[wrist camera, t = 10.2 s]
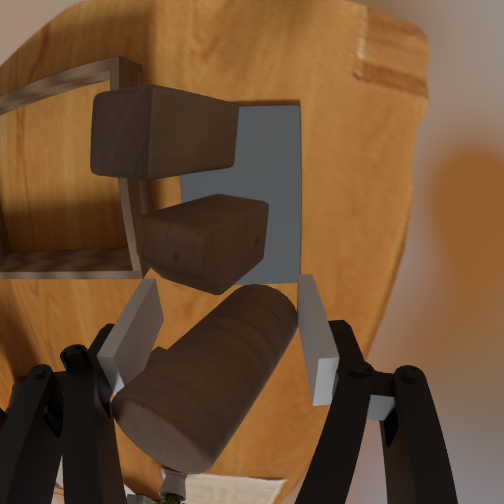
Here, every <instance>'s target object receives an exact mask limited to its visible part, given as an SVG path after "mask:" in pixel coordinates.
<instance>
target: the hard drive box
mask: <svg viewBox="0 0 504 504" xmlns="http://www.w3.org/2000/svg"><path fill="white" fill-rule="evenodd" d="M126 499H127V504H150V503H149V502H151V503H156V502H155V501H152V500H151V499H150V498H148V497H146V496H145V495H132V494H128V495H127V498H126Z"/></svg>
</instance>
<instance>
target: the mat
mask: <svg viewBox="0 0 504 504" xmlns="http://www.w3.org/2000/svg"><path fill="white" fill-rule="evenodd" d="M180 185H181V196H182V203H185V202H188V201H192V200H195V199H199V198H203V197H206V196H210V195H214V194H217V193H218V194H224V195H230V196H237V197H243V198H249V199H254V200H260V201H265V202H267V203H268V204H269V213H268V223H267V232H266V241H265V250H264V258H263V260H262V261H261V262H260V263H258V264H257V265H256V266H255V267H254V268H253V269H251V270H250V271H249V272H248V273H247V274H245V275H244V276H243V277H242V278H241V279H239V280H238V281H237V282H236V283H235V284H234V285H245V284H275V283H298V275H300V245H301V135H300V106H245V107H239V117H238V128H237V139H236V151H235V162H234V165H233V167H231V168H228V169H220V170H212V171H205V172H198V173H191V174H185V175H180Z"/></svg>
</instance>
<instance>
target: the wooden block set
mask: <svg viewBox="0 0 504 504" xmlns="http://www.w3.org/2000/svg"><path fill="white" fill-rule="evenodd" d="M238 117H239V107H238V105H236V104H234V103H231V102H227V101H224V100H220V99H216V98H212V97H208V96H204V95H200V94H195V93H191V92H187V91H182V90H177V89H173V88H168V87H163V86H157V85H146V86H138V87H131V88H124V89H117V90H111V91H105V92H101V93H99V94H97V95H96V96H95V98H94V101H93V113H92V129H91V155H90V168H91V171H92V173H94V174H96V175H99V176H109V177H118V178H127V179H136V180H144V181H149V180H154V179H160V178H166V177H172V176H178V175H185V174H191V173H198V172H205V171H212V170H220V169H228V168H231V167H233V165H234V162H235V151H236V139H237V128H238ZM268 213H269V204H268V203H267V202H265V201H260V200H254V199H249V198H243V197H237V196H230V195H224V194H218V193H217V194H214V195H210V196H206V197H203V198H199V199H195V200H192V201H188V202H185V203H181V204H178V205H174V206H171V207H167V208H164V209H161V210H157V211H154V212H151V213H147V214H144V215H141V216H139V217H137V219H136V250H137V254H138V256H139V257H140V258H141V259H142V260H143V261H144V262H145V263H146V264H147V265H149V266H150V267H151V268H152V269H153V270H154V271H155V272H156V273H157V274H159V275H160V276H161V277H162V278H164V279H167V280H170V281H173V282H176V283H180V284H183V285H186V286H189V287H192V288H195V289H198V290H201V291H205V292H208V293H211V294H214V295H221V294H223V293H224V292H225V291H226V290H228V289H229V288H230V287H231V286H232V285H234V284H235V283H236V282H237V281H238V280H239V279H241V278H242V277H243V276H244V275H245V274H247V273H248V272H249V271H250V270H251V269H253V268H254V267H255V266H256V265H257V264H258V263H260V262H261V261H262V260H263V258H264V250H265V241H266V232H267V223H268ZM297 328H298V315H297V312H296V309H295V307H294V305H293V304H292V302H291V301H290V300H289V299H288V297H287V296H285V295H284V294H283V293H281V292H280V291H279V290H277V289H274V288H272V287H269V286H267V285H260V284H251V285H244V286H242V287H240V288H238V289H237V290H235V291H234V292H233V293H232V294H230V295H229V296H228V297H227V298H226V299H225V300H224V301H222V302H221V303H220V304H219V305H218V306H217V307H216V308H214V309H213V310H212V311H211V312H210V313H209V314H208V315H207V316H205V317H204V318H203V319H202V320H201V321H200V322H199V323H197V324H196V325H195V326H194V327H193V328H192V329H190V330H189V331H188V332H187V333H186V334H185V335H184V336H182V337H181V338H180V339H179V340H178V341H177V342H176V343H174V344H173V345H172V346H171V347H170V348H169V349H167V350H166V349H164V348H161V347H159V346H158V347H157V348H155V349H154V350H153V351H152V352H151V353H150V356H149V358H148V361H147V364H146V366H145V369H144V370H143V371H142V372H141V373H139V374H138V375H137V376H136V377H135V378H134V379H132V380H131V381H130V382H129V383H128V384H127V385H125V386H124V387H123V388H122V389H121V390H120V391H118V392H117V393H116V395H115V396H114V398H113V400H112V403H111V408H112V413H113V416H114V418H115V420H116V422H117V424H118V425H119V426H120V428H121V429H122V431H123V432H124V433H125V435H126V436H127V437H128V438H129V439H130V440H131V441H132V442H133V443H134V444H135V445H136V446H137V447H138V448H140V449H141V450H142V451H143V452H145V453H146V454H147V455H149V456H150V457H152V458H153V459H155V460H156V461H158V462H160V463H161V464H163V465H165V466H167V467H170V468H172V469H174V470H177V471H180V472H184V473H187V474H200V473H202V472H205V471H207V470H209V469H210V468H211V467H212V466H213V464H214V463H215V461H216V460H217V458H218V457H219V455H220V454H221V453H222V451H223V450H224V448H225V447H226V445H227V444H228V442H229V441H230V439H231V438H232V436H233V435H234V433H235V432H236V430H237V429H238V427H239V426H240V424H241V422H242V421H243V419H244V418H245V416H246V415H247V413H248V412H249V410H250V408H251V407H252V405H253V404H254V402H255V400H256V399H257V397H258V396H259V394H260V392H261V391H262V389H263V388H264V386H265V384H266V383H267V381H268V379H269V378H270V376H271V374H272V373H273V371H274V369H275V368H276V366H277V364H278V363H279V361H280V359H281V357H282V356H283V354H284V352H285V351H286V349H287V347H288V345H289V344H290V342H291V340H292V338H293V337H294V335H295V333H296V330H297Z"/></svg>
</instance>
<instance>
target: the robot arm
mask: <svg viewBox="0 0 504 504" xmlns="http://www.w3.org/2000/svg"><path fill="white" fill-rule="evenodd" d="M297 315H298V327H299V333H300V338H301V343H302V349H303V354H304V360H305V365H306V371H307V376H308V382H309V388H310V393H311V399H312V405H313V406H317V405H327V404H331V406H330V409H329V412H328V415H327V418H326V421H325V424H324V427H323V430H322V433H321V436H320V439H319V442H318V445H317V448H316V450H315V453H314V456H313V459H312V461H311V464H310V466H309V469H308V472H307V474H306V477H305V480H304V482H303V485H302V487H301V489H300V492H299V494H298V497H297V499H296V502H295V504H345V501H346V498H347V494H348V492H349V488H350V485H351V481H352V477H353V474H354V470H355V466H356V462H357V459H358V455H359V450H360V446H361V442H362V438H363V433H364V429H365V424H366V419H373V420H379V422H380V429H381V438H382V446H383V455H384V464H385V476H386V487H387V502H388V504H458V501H457V496H456V490H455V485H454V480H453V476H452V471H451V466H450V462H449V458H448V453H447V449H446V445H445V441H444V438H443V434H442V430H441V426H440V423H439V419H438V416H437V412H436V409H435V405H434V402H433V399H432V396H431V393H430V389H429V387H428V383H427V380H426V377H425V375H424V373H423V371H421V370H420V369H419V368H417V367H414V366H411V365H405V366H401V367H399V368H397V369H396V371H395V372H394V374H392V373H383V372H378V371H375V370H374V368H373V367H372V366H371V365H370V364H368V363H367V362H365V361H364V358H363V356H362V353H361V350H360V348H359V345H358V343H357V341H356V338H355V336H354V333H353V331H352V328H351V326H350V325H349V324H348V323H347V322H346V321H344V320H334V321H328V320H327V317H326V314H325V311H324V308H323V305H322V302H321V299H320V296H319V293H318V290H317V287H316V284H315V281H314V278H313V275H312V274H302V275H298V292H297ZM163 321H164V317H163V313H162V308H161V303H160V298H159V294H158V289H157V283H156V279H142V281H141V283H140V284H139V286H138V287H137V289H136V290H135V292H134V294H133V295H132V297H131V299H130V300H129V302H128V303H127V305H126V307H125V308H124V310H123V312H122V313H121V315H120V317H119V318H118V320H117V322H116V323H115V324H107V325H106V326H104V327H103V328H102V329H101V330H100V331H99V333H98V335H97V337H96V338H95V339H94V341H93V343H92V344H91V346H90V348H89V349H88V350H87V348H86V347H85V346H84V345H80V344H76V345H71V346H69V347H67V348H65V349H64V350H63V351H62V352H61V354H60V358H61V360H62V362H63V364H64V367H65V369H66V371H60V372H53V371H52V369H51V367H50V366H49V365H46V364H41V365H37V366H35V367H34V368H32V369H31V370H30V371H29V373H28V375H27V377H26V376H21V377H19V378H17V380H16V381H15V383H14V384H13V387H12V394H11V397H10V401H9V405H8V407H7V409H6V411H5V412H4V411H3V410H2V409H1V408H0V504H51V501H52V497H53V492H54V487H55V482H56V478H57V473H58V469H59V465H60V461H61V456H62V459H63V460H62V462H63V488H64V502H65V504H127V499H126V494H125V490H124V484H123V479H122V473H121V467H120V461H119V455H118V448H117V441H116V433H115V424H114V416H113V413H112V408H111V401H110V398H111V395H112V393H113V395H114V396H115V395H116V393H117V392H118V391H120V390H121V389H122V388H123V387H124V386H125V385H127V384H128V383H129V382H130V381H131V380H132V379H134V378H135V377H136V376H137V375H138V374H139V373H141V372H142V371H143V370H144V369H145V366H146V364H147V361H148V358H149V356H150V353H151V351H152V348H153V346H154V343H155V340H156V338H157V335H158V333H159V330H160V328H161V325H162V323H163ZM332 398H333V399H332ZM331 400H332V403H331Z"/></svg>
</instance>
